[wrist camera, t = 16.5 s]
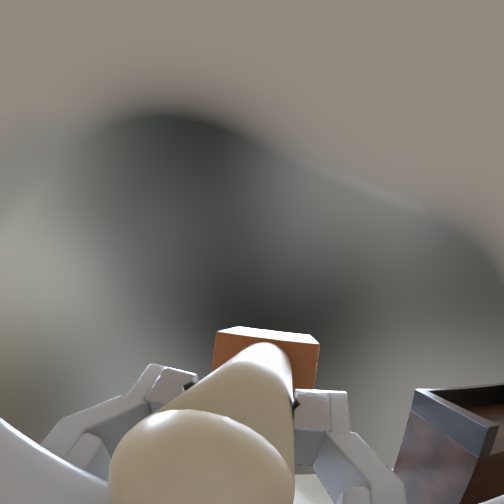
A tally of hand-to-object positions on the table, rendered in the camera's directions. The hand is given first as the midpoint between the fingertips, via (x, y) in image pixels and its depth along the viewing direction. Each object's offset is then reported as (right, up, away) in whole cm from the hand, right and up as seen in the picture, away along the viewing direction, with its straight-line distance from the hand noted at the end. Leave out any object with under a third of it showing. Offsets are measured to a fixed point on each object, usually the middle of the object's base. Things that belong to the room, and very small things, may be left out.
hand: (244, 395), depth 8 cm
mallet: (0, -3, +4) cm, 5 cm away
